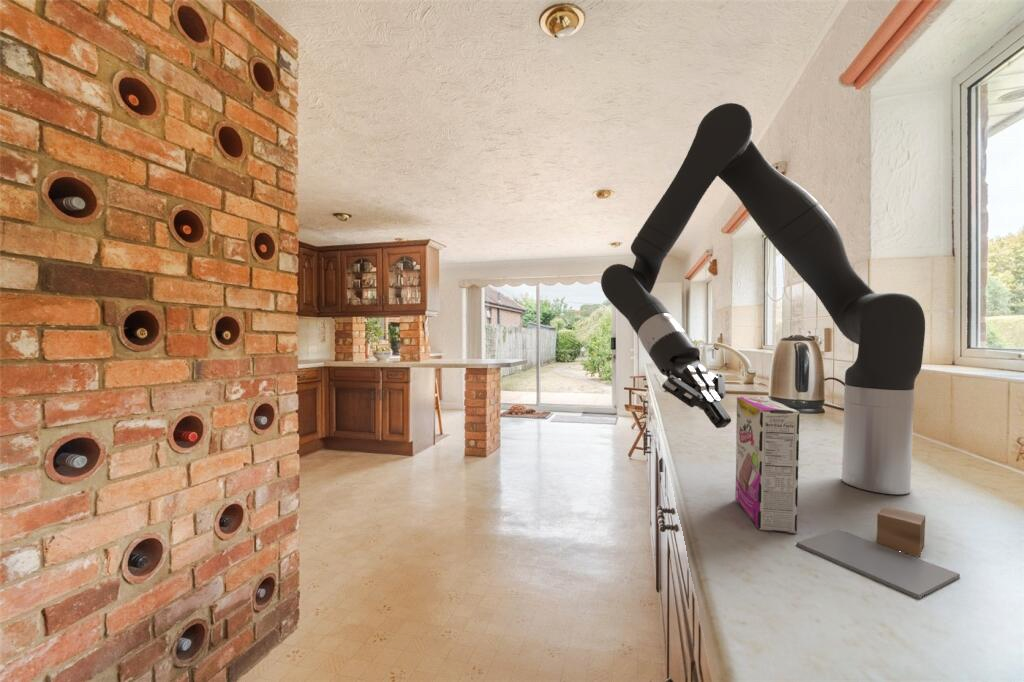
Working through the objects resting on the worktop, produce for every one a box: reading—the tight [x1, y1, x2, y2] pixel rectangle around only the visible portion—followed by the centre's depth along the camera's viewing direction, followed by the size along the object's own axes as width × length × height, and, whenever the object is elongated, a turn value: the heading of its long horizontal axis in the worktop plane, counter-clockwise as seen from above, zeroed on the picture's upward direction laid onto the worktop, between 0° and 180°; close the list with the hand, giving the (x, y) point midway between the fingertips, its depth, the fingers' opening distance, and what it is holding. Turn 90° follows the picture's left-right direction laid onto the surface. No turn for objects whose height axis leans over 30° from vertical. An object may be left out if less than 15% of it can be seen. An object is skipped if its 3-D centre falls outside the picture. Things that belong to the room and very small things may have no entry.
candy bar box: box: [734, 396, 801, 534], centre depth 63 cm, size 11×5×16 cm, turn 168°
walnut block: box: [875, 505, 926, 558], centre depth 55 cm, size 4×4×4 cm
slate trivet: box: [795, 528, 960, 599], centre depth 52 cm, size 9×12×1 cm
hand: (724, 424), depth 69 cm, fingers closed
